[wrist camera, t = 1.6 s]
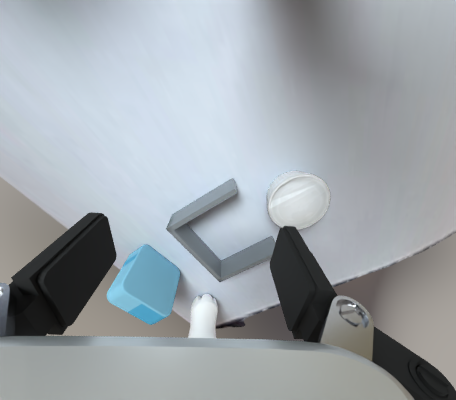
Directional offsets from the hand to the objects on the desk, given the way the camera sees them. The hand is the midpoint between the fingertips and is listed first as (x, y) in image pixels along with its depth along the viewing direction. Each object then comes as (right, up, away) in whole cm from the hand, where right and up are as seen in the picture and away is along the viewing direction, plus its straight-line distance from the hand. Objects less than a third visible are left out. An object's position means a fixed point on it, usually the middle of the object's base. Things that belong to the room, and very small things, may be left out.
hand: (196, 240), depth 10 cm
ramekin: (+14, +4, +27) cm, 31 cm away
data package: (-15, -13, +35) cm, 40 cm away
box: (+2, -4, +30) cm, 30 cm away
